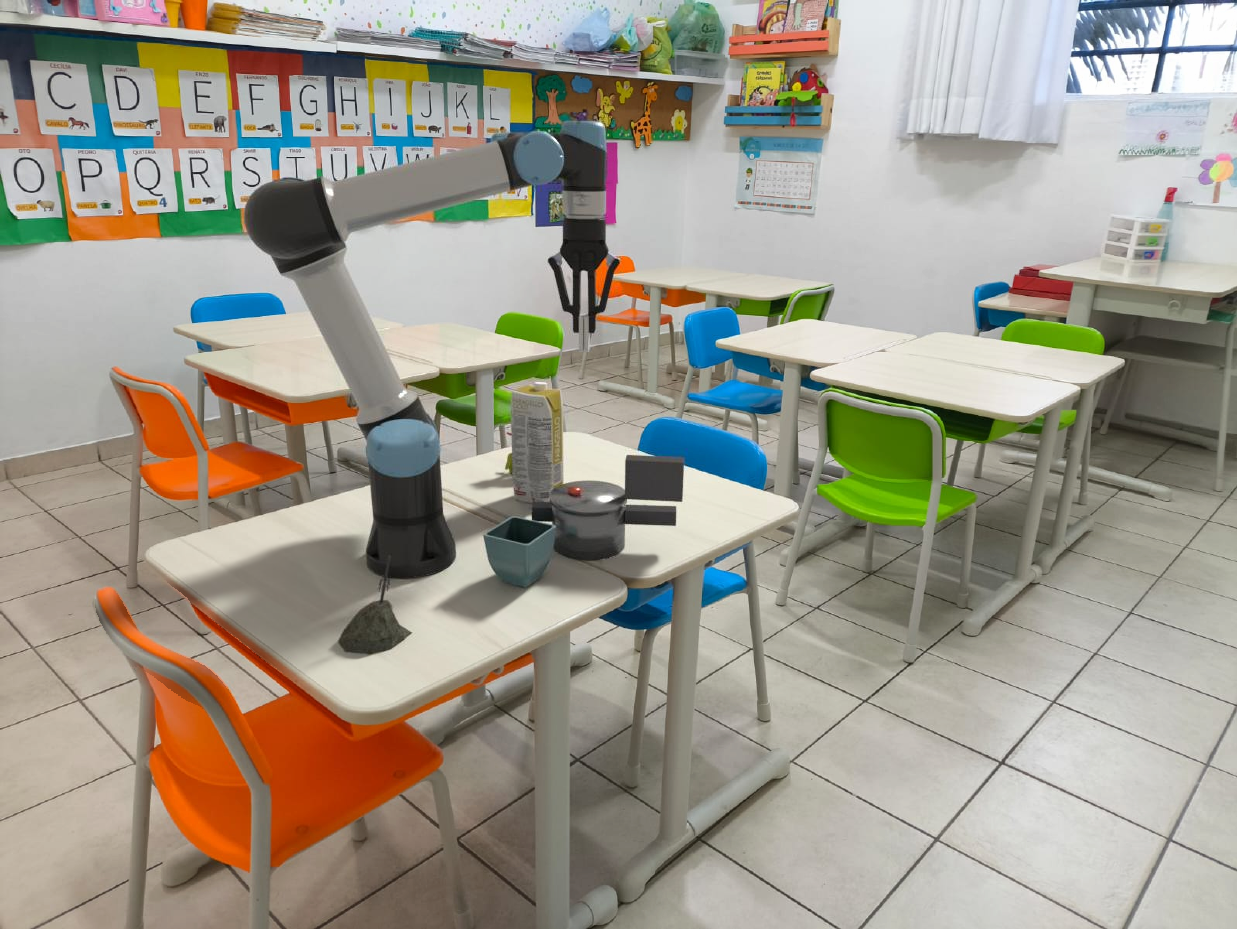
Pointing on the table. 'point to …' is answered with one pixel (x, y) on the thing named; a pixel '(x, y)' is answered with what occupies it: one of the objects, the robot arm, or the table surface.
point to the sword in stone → (374, 627)
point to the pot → (598, 528)
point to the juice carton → (536, 442)
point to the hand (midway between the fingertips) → (584, 350)
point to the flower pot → (520, 549)
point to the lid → (642, 482)
